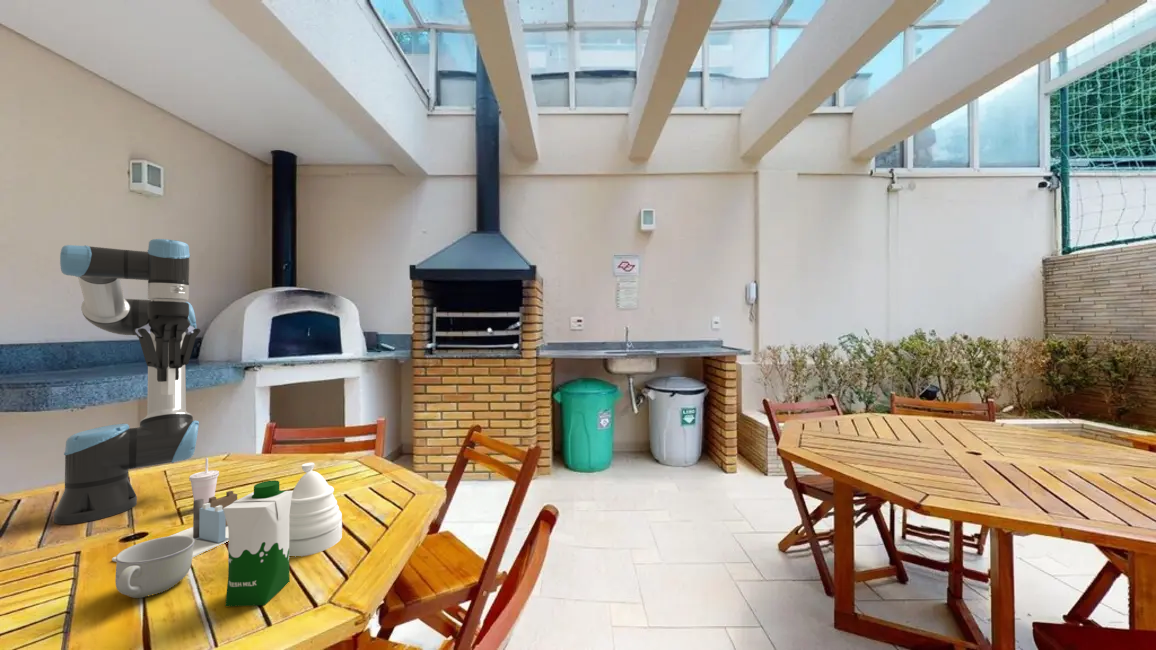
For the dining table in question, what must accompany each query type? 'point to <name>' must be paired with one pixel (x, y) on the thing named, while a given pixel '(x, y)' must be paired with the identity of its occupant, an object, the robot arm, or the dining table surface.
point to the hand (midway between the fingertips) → (168, 394)
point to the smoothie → (204, 484)
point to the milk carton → (258, 545)
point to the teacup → (153, 565)
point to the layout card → (199, 542)
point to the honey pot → (313, 515)
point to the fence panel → (212, 523)
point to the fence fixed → (213, 502)
